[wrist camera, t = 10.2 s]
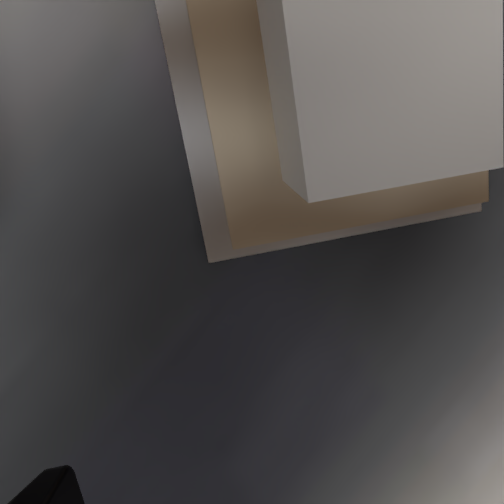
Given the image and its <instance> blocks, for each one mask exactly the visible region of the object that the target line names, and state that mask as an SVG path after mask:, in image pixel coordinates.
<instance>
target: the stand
mask: <svg viewBox="0 0 504 504" xmlns="http://www.w3.org/2000/svg"><path fill="white" fill-rule="evenodd" d="M155 5H156V10H157V15H158V20H159V25H160V29H161V34H162V39H163V44H164V49H165V54H166V58H167V63H168V68H169V73H170V78H171V83H172V88H173V92H174V97H175V102H176V107H177V112H178V117H179V121H180V126H181V131H182V136H183V141H184V146H185V151H186V155H187V160H188V165H189V170H190V175H191V180H192V184H193V189H194V194H195V199H196V204H197V209H198V214H199V218H200V223H201V228H202V233H203V238H204V243H205V247H206V252H207V257H208V262H209V263H212V262H217V261H223V260H228V259H233V258H238V257H244V256H249V255H254V254H259V253H265V252H270V251H275V250H280V249H285V248H291V247H296V246H301V245H306V244H312V243H317V242H322V241H327V240H333V239H338V238H343V237H348V236H354V235H359V234H364V233H369V232H375V231H380V230H385V229H390V228H396V227H401V226H406V225H411V224H417V223H422V222H427V221H432V220H438V219H443V218H448V217H453V216H459V215H464V214H469V213H474V212H480V211H482V206H481V203H482V202H488V201H489V174H488V170H487V171H481V172H476V173H470V174H465V175H459V176H454V177H449V178H443V179H438V180H432V181H427V182H421V183H416V184H410V185H405V186H400V187H394V188H389V189H383V190H378V191H372V192H367V193H361V194H356V195H351V196H345V197H340V198H334V199H329V200H323V201H318V202H312V203H308V202H306V201H305V200H304V199H303V198H302V197H301V196H300V195H298V194H297V193H296V192H295V191H294V190H293V189H292V188H290V187H289V186H288V185H287V184H286V183H285V182H284V181H282V174H281V167H280V160H279V153H278V146H277V139H276V132H275V126H274V119H273V112H272V105H271V98H270V91H269V84H268V77H267V71H266V64H265V57H264V50H263V43H262V36H261V29H260V22H259V16H258V9H257V2H256V0H155Z"/></svg>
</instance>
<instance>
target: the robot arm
mask: <svg viewBox="0 0 504 504" xmlns="http://www.w3.org/2000/svg"><path fill="white" fill-rule="evenodd" d="M7 504H84V500H83V497H82V494H81V491H80V488H79V485H78V482H77V478H76V475H75V472H74V470H73V469H72V467H70V466H68V465H64V466H60V467H55V468H50V469H46V470H44V471H43V472H42V473H40V474H39V475H38V476H37V477H36V478H35V479H34V480H33V481H32V482H31V483H29V484H28V485H27V486H26V487H25V488H24V489H23V490H22V491H21V492H20V493H18V494H17V495H16V496H15V497H14V498H13V499H12V500H11V501H10V502H9V503H7Z"/></svg>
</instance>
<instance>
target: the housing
mask: <svg viewBox="0 0 504 504" xmlns="http://www.w3.org/2000/svg"><path fill="white" fill-rule="evenodd" d="M256 2H257V9H258V16H259V22H260V29H261V36H262V43H263V50H264V57H265V64H266V71H267V77H268V84H269V91H270V98H271V105H272V112H273V119H274V126H275V132H276V139H277V146H278V153H279V160H280V167H281V174H282V181H284V182H285V183H286V184H287V185H288V186H289V187H290V188H292V189H293V190H294V191H295V192H296V193H297V194H298V195H300V196H301V197H302V198H303V199H304V200H305V201H306V202H308V203H312V202H318V201H323V200H329V199H334V198H340V197H345V196H351V195H356V194H361V193H367V192H372V191H378V190H383V189H389V188H394V187H400V186H405V185H410V184H416V183H421V182H427V181H432V180H438V179H443V178H449V177H454V176H459V175H465V174H470V173H476V172H481V171H487V170H492V169H498V168H503V0H256Z"/></svg>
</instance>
